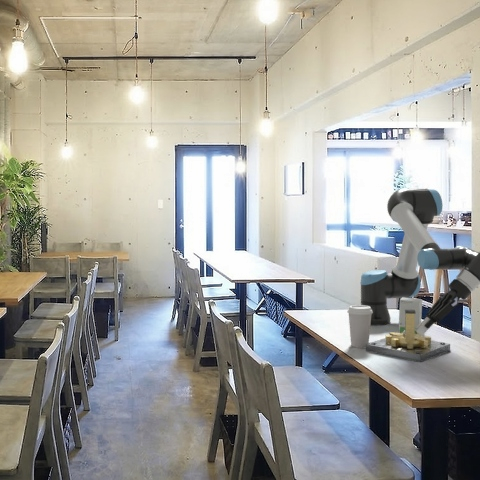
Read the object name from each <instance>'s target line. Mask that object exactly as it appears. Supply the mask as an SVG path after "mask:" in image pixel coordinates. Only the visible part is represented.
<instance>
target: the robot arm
mask: <svg viewBox="0 0 480 480" xmlns="http://www.w3.org/2000/svg"><path fill="white" fill-rule="evenodd" d="M386 205H387V206H386V207H387V213H388V216H389V217H390V219H391V220H392V221H393V222H395V223H397V224H398V226H399V227H400V228H401V230H402V232H404V235H403V239H402V243H401V247H400V249H399V250H400V251H399V255H398V259H397V262H396V265H394V266H393V267H392V268H391V272H387V270H384V269H375V270H367V271H365V272H364V273H362V274H361V279H360V305H365V306H370V307H371V310H372V311H373V313H372V314H371V324H370V326H371V325H372V326H373V325H374V326H377V325H378V326H379V325H380V326H381V325H388V324H391V315H390V312H389V309H388V302H387V301H388V299H401V298H402V297H405V298H414V297H416V296H417V295H418V294H419V292H420V290H421V286H422V284H421V280H422V279H421V276H420V275H419V272H418V270H417V267H418V266H419V268H421V269H422V270H430V271H432V270H433V271H434V270H451V269H452V270H453V269H455V270H457V269H458V270H459V269H461V271H460V272H459V273H458V274H457V275H456V277H455V278H454V279H453V280H452V281H451V282H449V284H448V289H449V291H447V292H446V293H445V294H441V295H440V296H439V297H438V299H437V300H436V301H435V303H433V305H432V306H431V307H430V309H429V310H428V311H427V312H426V317H425V318H424V319H423V320H421V323H420V324H419V326H418V327H417V328H416V329H415V331H416V332H417V333H418V334H419V335H421V336H423V334H424V335H425V333H426V332H428V330H429V329H430V328H431V327H433V325H434V324H436V323H440V322H441V321H442V320H443V319H444V318H445V317H447V315H449V313H451V312H452V311H453V310H454V309H455V308H457V307H458V306H459V305H460V303H458V302H459V301H460V299H461V300H463V301H464V300H466V299H467V298H468V297H469V296H470V295H471V294H472V292H473V291H475V290H476V289H478V288H479V286H480V251H475V250H473V249H472V248H470V247H468V246H463V245H458V246H455V247H454V248H441V247H440V245H439V244H437V242H436V240H434V238H433V237H432V235H431V234H430V233H429V231H428V230H427V229H428V226H429V225H431V224H432V223H433V221H434V218H435V217H439V216H440V215H441V214H442V211H443V205H444V204H443V200H442V196H441V194H440V192H439V191H438V190H437V189H434V188H428V187H427V188H400V189H398V190H396V191H395V192H393V193H392V194H391V195H390V197H389V199H388V200H387V204H386Z"/></svg>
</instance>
